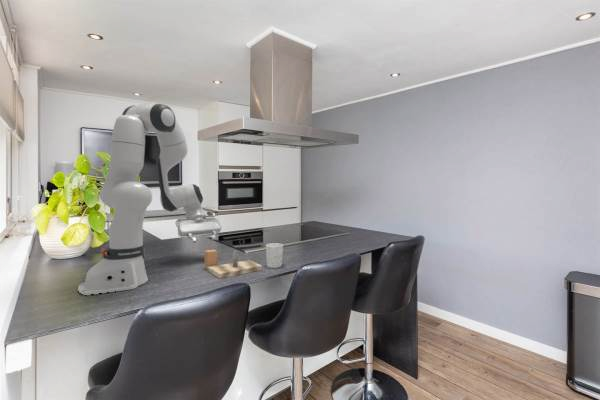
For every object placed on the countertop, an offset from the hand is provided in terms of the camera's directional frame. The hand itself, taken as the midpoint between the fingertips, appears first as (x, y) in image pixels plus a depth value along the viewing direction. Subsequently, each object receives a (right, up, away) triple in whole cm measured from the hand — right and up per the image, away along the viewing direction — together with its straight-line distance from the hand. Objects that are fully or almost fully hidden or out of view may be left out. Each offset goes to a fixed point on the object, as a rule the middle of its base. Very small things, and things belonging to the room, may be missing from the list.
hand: (204, 240), depth 141 cm
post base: (+16, -12, -9) cm, 22 cm away
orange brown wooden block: (+5, -12, -5) cm, 14 cm away
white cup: (+33, -12, 0) cm, 35 cm away
